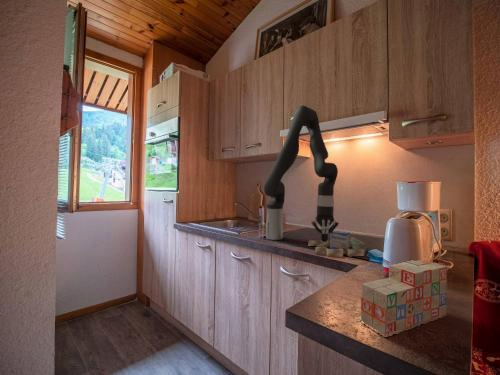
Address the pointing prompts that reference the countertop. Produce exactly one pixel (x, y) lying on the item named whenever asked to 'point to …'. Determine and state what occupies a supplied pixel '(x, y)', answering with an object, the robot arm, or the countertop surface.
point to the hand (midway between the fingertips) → (324, 241)
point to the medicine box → (339, 240)
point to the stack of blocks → (405, 296)
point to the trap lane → (354, 243)
